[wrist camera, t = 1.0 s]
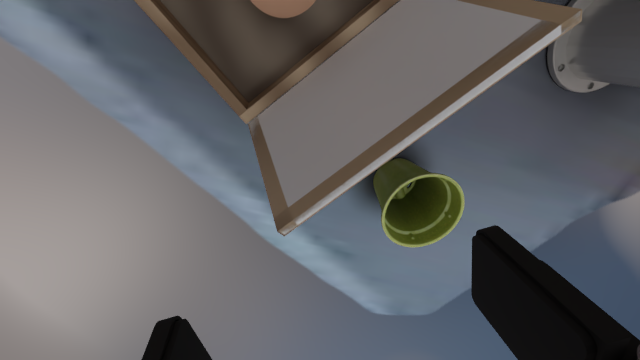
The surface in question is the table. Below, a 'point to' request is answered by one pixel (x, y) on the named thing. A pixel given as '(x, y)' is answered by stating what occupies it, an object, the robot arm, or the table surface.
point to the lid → (391, 93)
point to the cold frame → (258, 43)
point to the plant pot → (416, 203)
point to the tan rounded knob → (283, 7)
